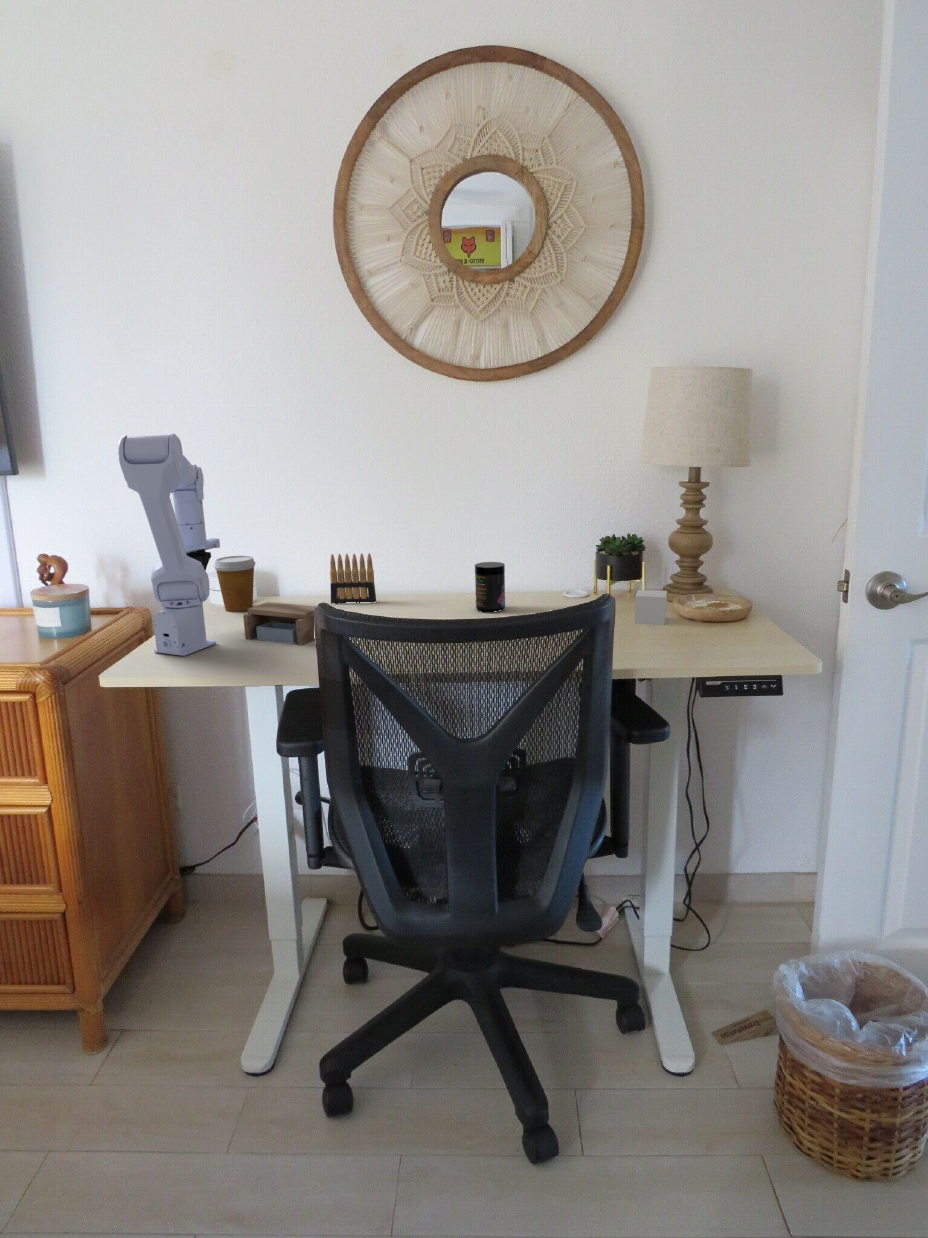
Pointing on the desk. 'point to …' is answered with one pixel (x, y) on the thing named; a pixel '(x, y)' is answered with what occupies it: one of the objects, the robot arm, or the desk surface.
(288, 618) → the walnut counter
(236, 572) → the disposable coffee cup
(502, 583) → the supplement container
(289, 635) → the grey tray
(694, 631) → the desk surface
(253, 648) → the desk surface
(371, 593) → the ammunition clip
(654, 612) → the grey cube
